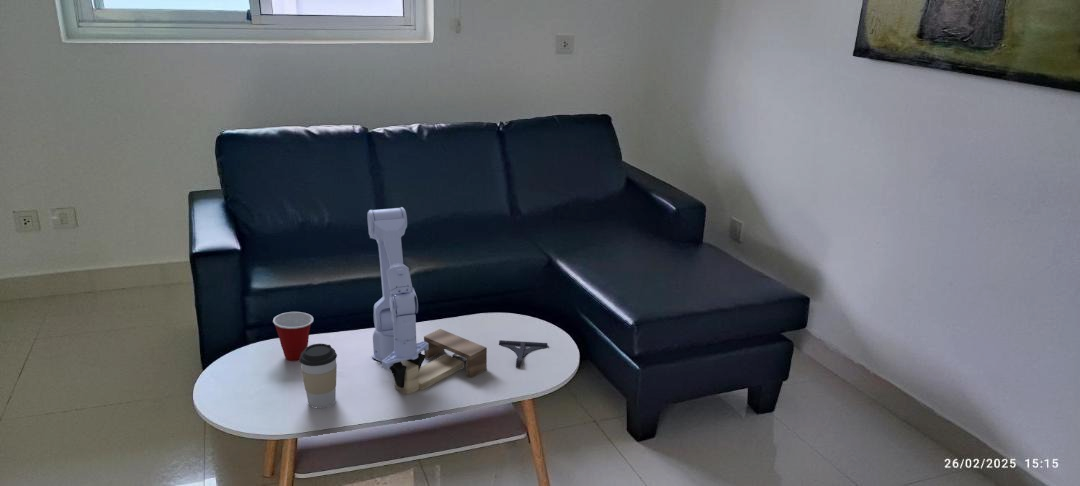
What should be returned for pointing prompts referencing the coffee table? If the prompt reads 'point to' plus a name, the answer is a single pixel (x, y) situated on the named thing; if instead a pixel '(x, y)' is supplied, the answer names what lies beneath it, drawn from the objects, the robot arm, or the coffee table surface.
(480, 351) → the walnut shelf
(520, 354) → the bracket
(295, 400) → the coffee table surface
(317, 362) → the coffee cup
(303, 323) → the plastic cup
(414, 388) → the oak l-shaped block
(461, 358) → the steel puck
